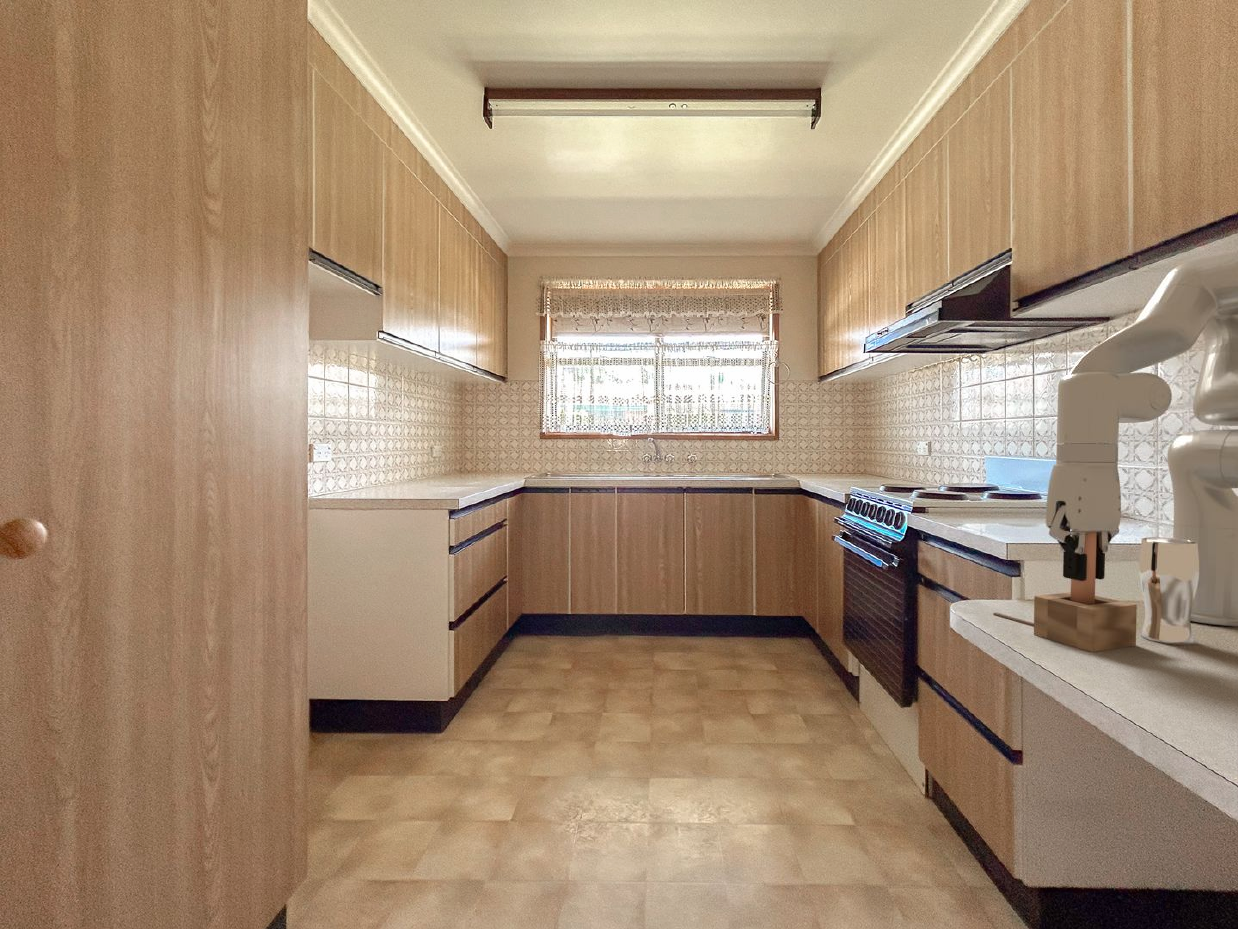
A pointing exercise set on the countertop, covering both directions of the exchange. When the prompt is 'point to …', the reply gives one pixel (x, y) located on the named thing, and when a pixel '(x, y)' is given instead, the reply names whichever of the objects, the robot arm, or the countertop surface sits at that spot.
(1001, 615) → the brown thin square rod
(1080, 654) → the countertop surface
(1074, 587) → the dowel
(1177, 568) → the beer glass
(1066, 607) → the wooden block with hole
